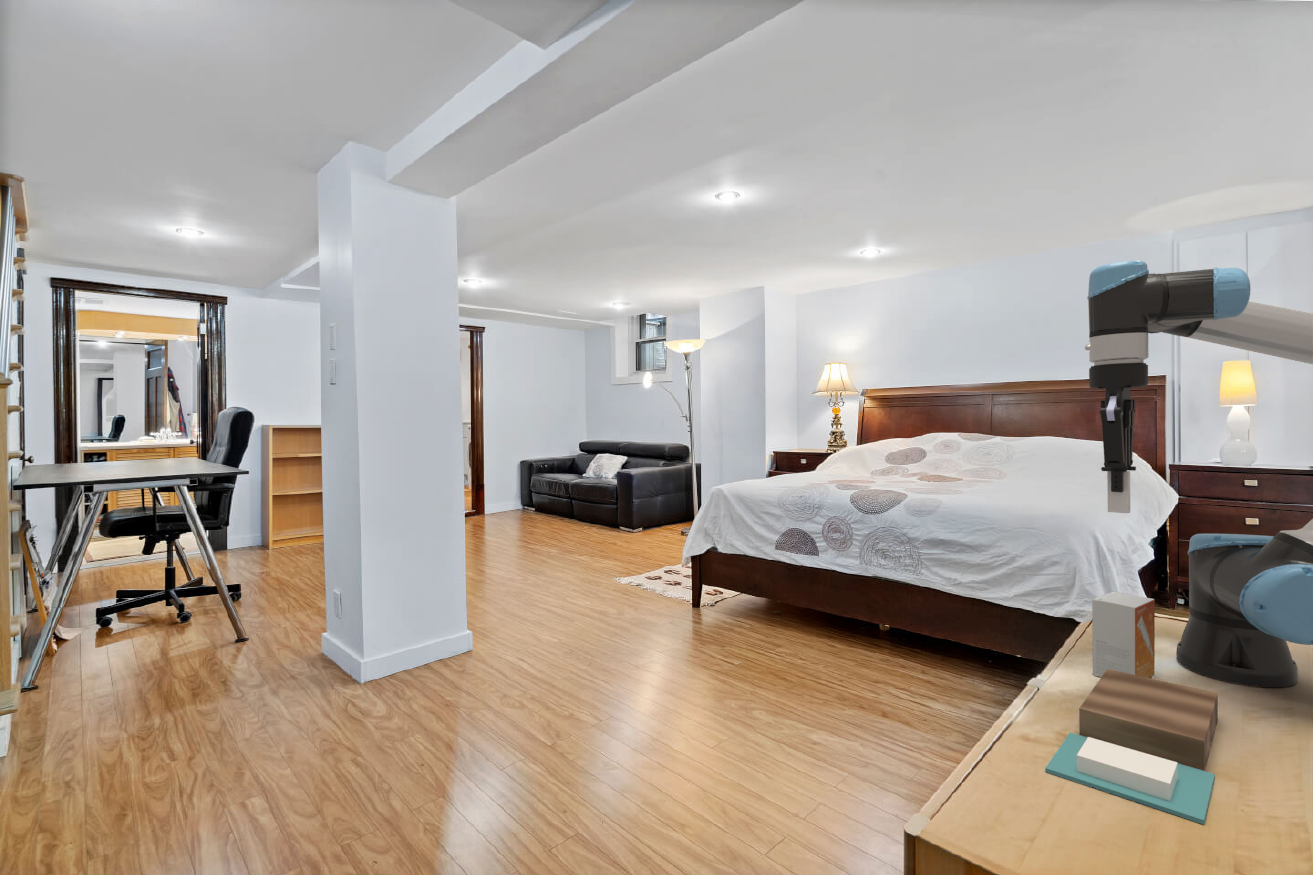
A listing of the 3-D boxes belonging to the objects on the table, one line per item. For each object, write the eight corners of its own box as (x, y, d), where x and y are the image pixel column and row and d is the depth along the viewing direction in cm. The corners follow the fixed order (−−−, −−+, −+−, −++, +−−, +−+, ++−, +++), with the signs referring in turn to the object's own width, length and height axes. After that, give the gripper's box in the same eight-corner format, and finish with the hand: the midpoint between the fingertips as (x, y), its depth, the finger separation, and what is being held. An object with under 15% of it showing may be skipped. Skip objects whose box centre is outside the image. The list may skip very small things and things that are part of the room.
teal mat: (1069, 735, 87) (1069, 732, 87) (1214, 777, 76) (1214, 773, 76) (1045, 771, 79) (1045, 767, 79) (1204, 824, 68) (1204, 820, 68)
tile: (1076, 754, 78) (1076, 770, 78) (1170, 783, 71) (1170, 801, 71) (1088, 736, 82) (1088, 751, 82) (1177, 762, 76) (1177, 778, 76)
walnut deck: (1107, 693, 99) (1107, 668, 99) (1217, 720, 90) (1217, 692, 90) (1079, 736, 87) (1079, 708, 87) (1204, 772, 77) (1204, 740, 77)
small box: (1136, 688, 101) (1135, 607, 101) (1091, 675, 106) (1090, 598, 106) (1156, 675, 106) (1155, 598, 105) (1112, 663, 111) (1111, 590, 110)
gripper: (1098, 366, 107) (1099, 505, 108) (1079, 363, 98) (1081, 515, 98) (1154, 362, 101) (1155, 509, 102) (1140, 359, 92) (1141, 519, 93)
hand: (1118, 511), depth 100 cm, fingers closed
